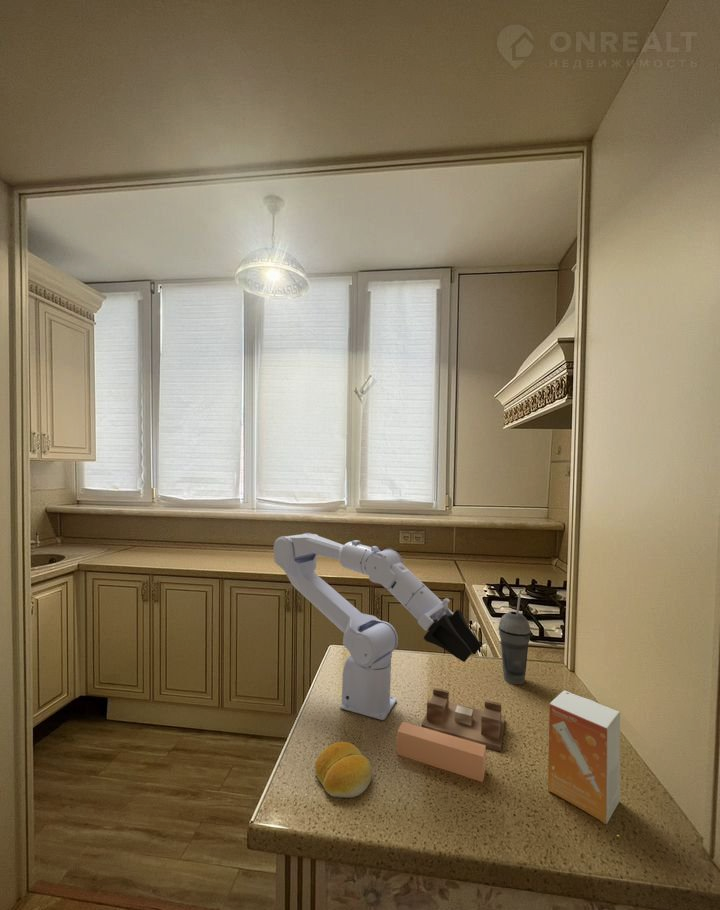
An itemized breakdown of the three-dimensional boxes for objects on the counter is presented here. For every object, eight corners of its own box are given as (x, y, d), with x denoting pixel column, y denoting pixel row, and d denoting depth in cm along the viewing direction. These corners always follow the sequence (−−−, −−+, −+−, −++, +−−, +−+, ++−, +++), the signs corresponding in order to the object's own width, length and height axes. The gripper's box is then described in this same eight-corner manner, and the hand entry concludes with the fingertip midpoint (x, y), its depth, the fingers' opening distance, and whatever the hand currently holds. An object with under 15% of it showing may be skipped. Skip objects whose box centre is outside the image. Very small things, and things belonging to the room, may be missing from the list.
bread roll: (335, 810, 56) (336, 780, 56) (308, 770, 64) (309, 743, 64) (383, 787, 61) (384, 760, 61) (352, 752, 68) (353, 728, 68)
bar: (396, 755, 68) (397, 731, 68) (402, 745, 71) (402, 721, 71) (483, 783, 62) (483, 756, 62) (485, 771, 65) (485, 745, 65)
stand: (421, 729, 75) (421, 707, 75) (433, 702, 84) (433, 682, 84) (500, 751, 69) (501, 727, 69) (504, 720, 78) (504, 699, 79)
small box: (547, 791, 61) (547, 702, 61) (563, 771, 65) (563, 688, 66) (607, 826, 55) (607, 727, 55) (621, 802, 59) (621, 710, 60)
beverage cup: (506, 669, 100) (507, 587, 101) (536, 681, 94) (536, 594, 95) (491, 678, 95) (492, 592, 96) (521, 691, 89) (522, 600, 90)
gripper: (415, 582, 71) (478, 642, 64) (440, 580, 83) (494, 631, 76) (392, 612, 72) (451, 675, 65) (419, 607, 84) (472, 659, 77)
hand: (473, 653), depth 70 cm, fingers open, 7 cm apart
